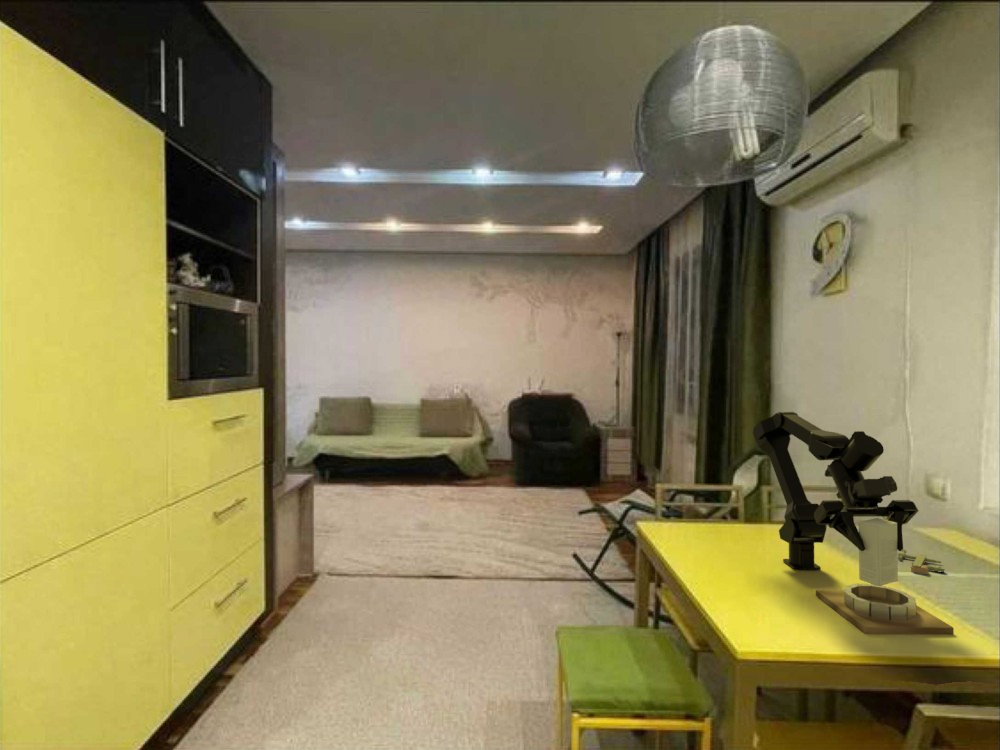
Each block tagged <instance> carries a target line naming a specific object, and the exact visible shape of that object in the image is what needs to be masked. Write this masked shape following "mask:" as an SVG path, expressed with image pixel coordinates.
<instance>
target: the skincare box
mask: <svg viewBox="0 0 1000 750" xmlns="http://www.w3.org/2000/svg"><path fill="white" fill-rule="evenodd" d="M858 532H859V534H860V536H861V538H862V540H863V543H864V546H865V550H864V551H861V550H860V549H858V568H859V573H858V574H859V575H858V576H859V578H858V579H859V580H860V581H862V582H865V583H867V584H873V585H876V586H886V585H888V584H891V583H892V584H893V583H895V582H898V581H899V572H898V571H899V568H898V566H899V564H898V561H899V560H898V553H899V552H898V549H897V523H896V522H892V521H888V520H884V519H883V518H880V517H875V518H871V519H866V520H861V521H858Z"/></svg>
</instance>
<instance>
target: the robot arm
mask: <svg viewBox="0 0 1000 750" xmlns="http://www.w3.org/2000/svg"><path fill="white" fill-rule="evenodd" d="M752 436H753V437H754V440H755V441H756V444H757V446H758V448H759V449H761V450H762V451H763V452H764V453H765V454H767V455H768V457H769V459H770V462H771V465H772V467H773V471H774V474H775V476H776V478H777V482H778V484H779V487H780V489H781V491H782V492H781V493H782V495H783V498H784V500H785V502H786V503H785V504H786V509H785V513H784V516H783V517H784V521H785V522H784V523H783V525H782V526H781V527H780V528H779V530H778V533H779V539H780V540H782V541H784V542H786V543H788V558H783V559H782V561H783V562H784V563H785V564H787V565H788V566H789V567H790V568H792V569H793V570H821V568H822V567H821V566H820V565H818V564H817V563H815V543H816V544H817V543H818V544H819V543H821V544H823V543H824V541H825V540H824V539H825V536H826V532H827V527H829V529H833V530H836V532H838V533H839V534H840V535H842V536H843V537H844V538H846V539H847V541H849V542H850V543H852V544H853V546H855V547H856V548H857V550H859V549H860V550H861V551H864V550H865V546H864V543H863V540H862V538H861V536H860V534H859V529H858V528H857V526H856V524H855V517H857V518H861V517H864V518H865V517H872V518H873V517H875V518H881V517H882V518H881V519H884V520H888V521H892V522H896V523H897V552H902V550H904V541H903V526H904V525H906V524H908V523H909V521H911V520H912V519H913V518H914V516H916V514H917V513H919V512H920V511H919V509H918V507H917V505H916V503H915V502H914V501H912V500H910V499H899V500H898V499H892V500H891V501H890V502H889V504H888V505H887V506H879V505H878V504H881V503H882V502H883V501H884V499H883V497H885V496H891V494H892V493H895V492H897V491H898V485H897V483H896V481H895V479H894V477H893V476H892V475H884V476H882V477H879V478H866V479H865V477H864V475H863V473H862V472H865V471H867V470H870V468H871V467H872V466H873V465H874V463H875V462H876V461H878V459H879V458H880V457H881V456H882V455H883V454H884V451H885V449H884V445H883V444H882V442H880V441H878V440H877V439H876V438H874V437H873V436H870V435H867V434H866V433H865V431H863V430H862V431H861V430H860V431H859V430H858V431H854V432H853V433H852V434H851V436H850V438H848V437H847V435H845V434H842V433H838V432H836V431H834V432H833V431H828V430H823V429H822V428H820V427H818V426H817V425H815V424H813V423H811V422H810V421H808V420H806V419H804V418H803V417H801V416H799V415H798V413H797V412H794V411H777V412H776V413H774V414H773V415H772V416H770V417H768V418H765V419H763V420H760V421H759V422H757V423H756V425H755V426H754V427H753V430H752ZM791 436H794V437H795V438H797V439H798V440H800V441H801V442H803V443H804V444H806V446H807V447H808V449H807V450H808V452H809V454H811V455H813V456H814V458H815V459H817V460H818V461H831V463H830V464H827V468H826V470H824V471H825V472H824V477H829V478H832V481H833V482H834V485H835V486H836V489H837V493H836V497H837V499H842V501H841V500H837V499H836V500H831V499H830V500H825V499H824V500H822V501H821V502H820V504H818V503H812V502H811V501H809V500H808V497H807V495H806V492H805V490H804V488H803V484H802V482H801V480H800V478H799V474H798V472H797V470H796V467H795V464H794V461H793V459H792V457H791V453H790V451H789V446H790V442H791Z"/></svg>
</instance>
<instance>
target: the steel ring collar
mask: <svg viewBox="0 0 1000 750" xmlns="http://www.w3.org/2000/svg"><path fill="white" fill-rule="evenodd" d="M843 590H844V604H845V605H846V606H848V607H849V608H851V609H852V610H854V611H856V612H859V613H861V614H864V615H867V616H871V617H875V618H880V619H886V620H889V619H890V620H910V619H912V618H915V617H916V605H917V600H916V597H914V596H912V595H911V594H909V593H907V592H905V591H903V590H900V589H896V588H894V587H893V588H892V587H891V586H890V587H889V586H886V585H882V586H876V585H873V584H871V583H853V584H848V585H846V586H844V589H843ZM862 598H875V599H881V600H887V601H890V602H893V603H896V604H899V605H886V604H880V603H875V602H870V601H867V600H864V599H862Z"/></svg>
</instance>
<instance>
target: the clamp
mask: <svg viewBox="0 0 1000 750" xmlns="http://www.w3.org/2000/svg"><path fill="white" fill-rule="evenodd" d="M897 553H898V561H903V560H905V559H911V560H914V561H913V562H911V565H910V572H911V573H913V572H916V573H915V574H918V573H922V574H921V575H923V574H928V575H929V571H933V570H934V571H933V572H935V571H941V572H944V571H945V569H946V568H945V567H943V566H937V565H933V566H932V565H926V564H925V565H924V563H923V562H927V563H932V564H933V563H937V564H942V561H941V560H936V559H933V558H927V555H926V554H923V553H918V554H917V556H916V555H915V556H914V555H910V554H909V555H908V554H906V553H907V550H906V549H903V550H902V551H901V552H897ZM945 572H946V571H945Z"/></svg>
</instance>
